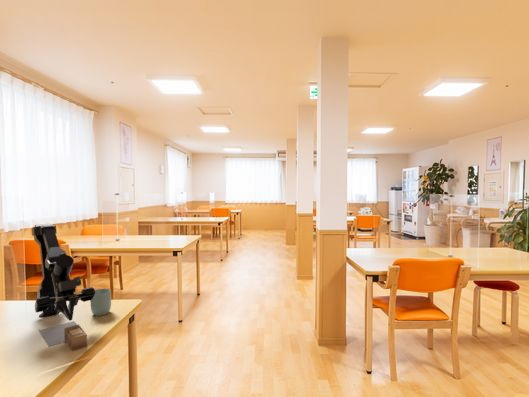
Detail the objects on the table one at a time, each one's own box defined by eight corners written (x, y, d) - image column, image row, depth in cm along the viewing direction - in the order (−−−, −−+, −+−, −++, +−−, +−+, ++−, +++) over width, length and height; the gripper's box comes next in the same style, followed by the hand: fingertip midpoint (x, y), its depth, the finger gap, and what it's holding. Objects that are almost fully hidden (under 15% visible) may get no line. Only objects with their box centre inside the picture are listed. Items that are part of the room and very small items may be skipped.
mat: (38, 331, 126) (38, 330, 126) (73, 322, 134) (73, 321, 134) (48, 347, 113) (48, 346, 113) (87, 336, 121) (87, 335, 121)
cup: (103, 318, 137) (102, 294, 137) (86, 317, 139) (86, 293, 138) (115, 311, 145) (114, 288, 144) (99, 310, 146) (98, 288, 146)
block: (64, 327, 117) (71, 338, 110) (78, 323, 120) (86, 333, 113) (64, 340, 117) (72, 351, 110) (78, 336, 120) (87, 347, 113)
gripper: (34, 275, 115) (42, 316, 108) (93, 266, 128) (103, 301, 121) (31, 292, 121) (38, 332, 114) (87, 281, 134) (97, 316, 127)
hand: (70, 319), depth 119 cm, fingers closed
